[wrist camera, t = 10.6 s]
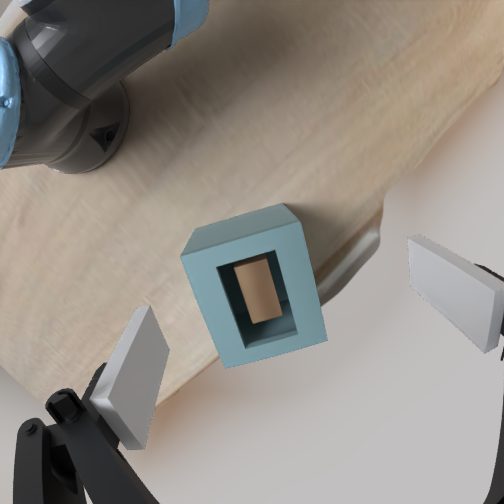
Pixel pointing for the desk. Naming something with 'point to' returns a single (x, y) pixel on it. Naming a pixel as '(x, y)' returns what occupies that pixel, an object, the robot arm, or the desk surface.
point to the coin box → (230, 294)
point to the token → (258, 288)
